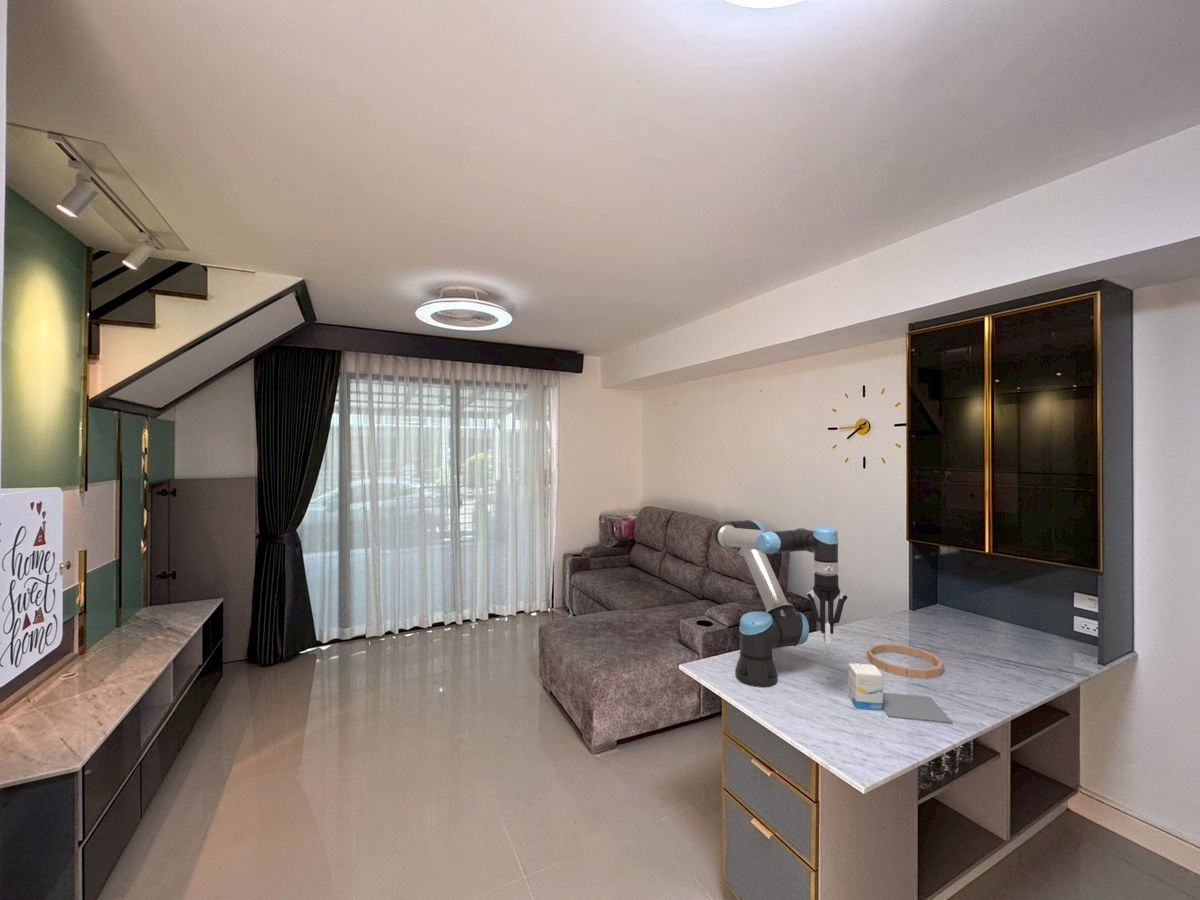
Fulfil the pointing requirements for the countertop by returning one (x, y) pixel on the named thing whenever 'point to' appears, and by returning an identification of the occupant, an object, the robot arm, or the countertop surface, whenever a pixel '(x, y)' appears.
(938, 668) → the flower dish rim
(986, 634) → the countertop surface
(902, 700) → the mat
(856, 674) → the ink box
